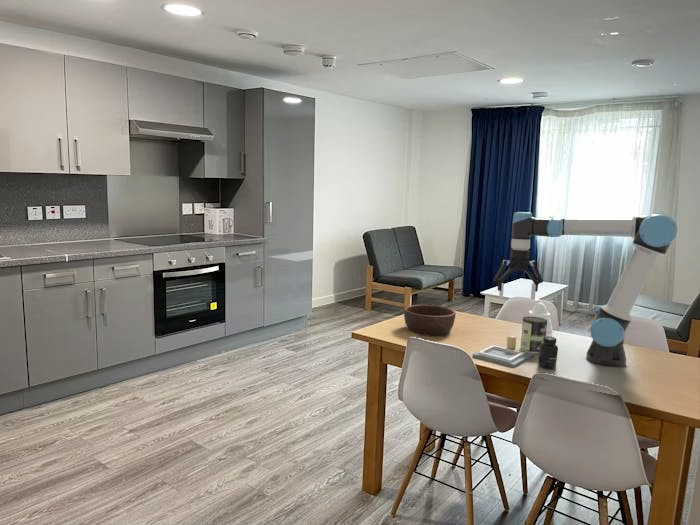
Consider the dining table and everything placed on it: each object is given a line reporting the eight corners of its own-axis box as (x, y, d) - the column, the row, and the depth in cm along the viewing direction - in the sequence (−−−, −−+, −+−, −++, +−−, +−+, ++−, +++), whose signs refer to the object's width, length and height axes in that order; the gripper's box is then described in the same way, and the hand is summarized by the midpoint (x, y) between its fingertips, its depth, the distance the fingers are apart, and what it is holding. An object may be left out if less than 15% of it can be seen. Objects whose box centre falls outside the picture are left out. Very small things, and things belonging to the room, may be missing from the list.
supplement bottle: (553, 371, 207) (556, 341, 205) (535, 367, 211) (538, 337, 209) (558, 366, 212) (561, 337, 211) (541, 362, 216) (543, 334, 215)
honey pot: (525, 338, 252) (529, 301, 249) (522, 331, 264) (525, 296, 262) (554, 341, 250) (557, 303, 247) (549, 334, 262) (552, 298, 260)
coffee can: (547, 350, 235) (550, 319, 233) (540, 355, 226) (543, 323, 225) (524, 345, 241) (527, 315, 239) (516, 350, 233) (519, 318, 231)
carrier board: (533, 356, 224) (534, 340, 223) (514, 367, 209) (515, 350, 208) (493, 347, 236) (494, 331, 235) (472, 356, 220) (473, 340, 219)
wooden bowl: (392, 328, 260) (393, 308, 259) (425, 321, 277) (426, 302, 275) (432, 340, 242) (433, 319, 240) (464, 332, 259) (466, 312, 257)
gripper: (546, 248, 226) (542, 297, 229) (488, 247, 226) (485, 296, 229) (553, 250, 219) (549, 301, 222) (493, 249, 218) (490, 299, 221)
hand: (516, 298), depth 225 cm, fingers open, 13 cm apart
